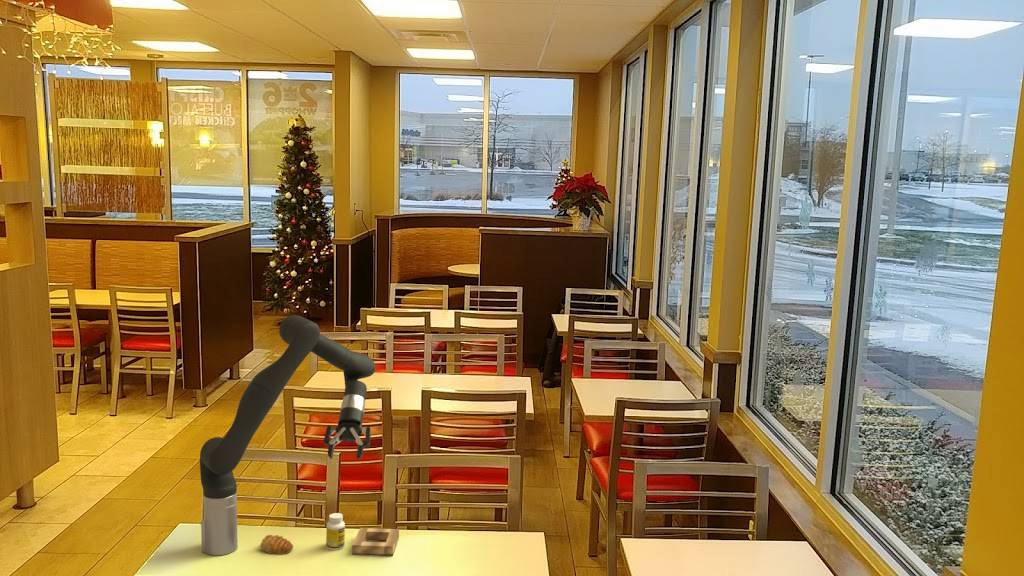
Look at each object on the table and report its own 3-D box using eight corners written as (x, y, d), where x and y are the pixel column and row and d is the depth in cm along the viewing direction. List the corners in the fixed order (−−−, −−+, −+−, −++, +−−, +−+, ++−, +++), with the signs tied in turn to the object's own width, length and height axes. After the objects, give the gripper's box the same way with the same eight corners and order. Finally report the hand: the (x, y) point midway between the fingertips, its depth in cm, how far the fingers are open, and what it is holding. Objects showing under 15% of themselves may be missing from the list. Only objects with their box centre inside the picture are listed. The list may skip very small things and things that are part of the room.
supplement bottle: (340, 551, 237) (340, 520, 236) (323, 549, 238) (323, 518, 237) (347, 543, 242) (347, 512, 241) (330, 541, 244) (331, 511, 242)
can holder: (352, 554, 235) (352, 545, 235) (360, 537, 247) (360, 527, 247) (392, 556, 235) (392, 546, 235) (398, 538, 247) (398, 529, 247)
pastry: (298, 548, 239) (298, 536, 238) (284, 558, 233) (284, 545, 232) (271, 542, 242) (271, 530, 242) (257, 552, 236) (257, 539, 235)
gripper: (328, 405, 256) (319, 451, 246) (372, 406, 256) (365, 453, 246) (332, 416, 262) (323, 462, 252) (375, 418, 262) (368, 463, 252)
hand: (344, 457), depth 249 cm, fingers open, 8 cm apart
